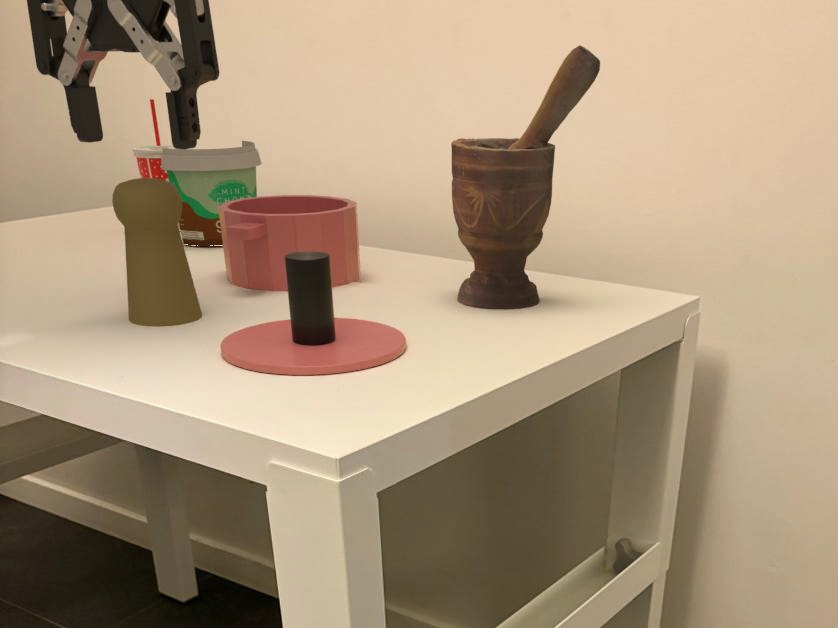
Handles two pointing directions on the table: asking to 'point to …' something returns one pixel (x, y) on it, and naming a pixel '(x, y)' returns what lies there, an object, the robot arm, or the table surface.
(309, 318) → the lid
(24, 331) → the table surface
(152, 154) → the beverage cup
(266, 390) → the table surface
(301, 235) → the pot
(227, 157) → the food container
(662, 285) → the table surface
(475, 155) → the mortar and pestle
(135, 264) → the cork
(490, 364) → the table surface
